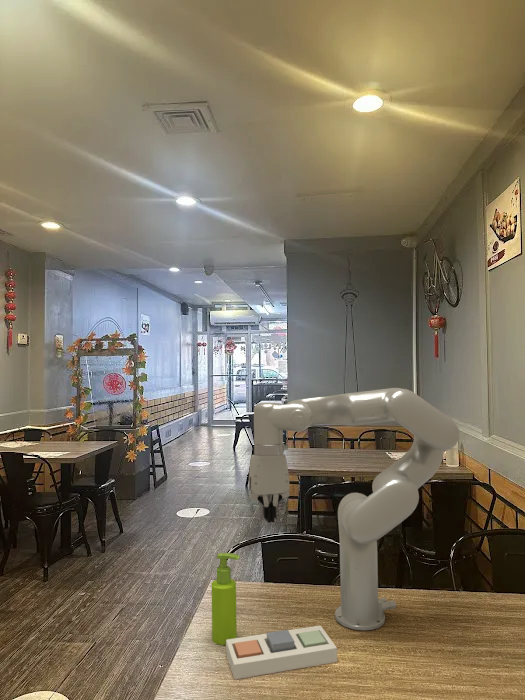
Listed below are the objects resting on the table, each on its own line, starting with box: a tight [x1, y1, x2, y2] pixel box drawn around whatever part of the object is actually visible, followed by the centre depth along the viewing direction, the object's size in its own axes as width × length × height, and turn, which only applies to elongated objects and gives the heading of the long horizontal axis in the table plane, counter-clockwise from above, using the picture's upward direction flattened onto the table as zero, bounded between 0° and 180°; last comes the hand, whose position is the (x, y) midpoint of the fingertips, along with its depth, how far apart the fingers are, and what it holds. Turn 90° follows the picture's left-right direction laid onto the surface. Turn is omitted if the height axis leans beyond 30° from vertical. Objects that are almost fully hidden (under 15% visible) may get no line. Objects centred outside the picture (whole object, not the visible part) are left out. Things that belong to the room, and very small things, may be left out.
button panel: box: [225, 625, 338, 680], centre depth 111 cm, size 23×10×3 cm, turn 104°
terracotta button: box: [234, 640, 262, 659], centre depth 109 cm, size 5×5×2 cm
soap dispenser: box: [211, 552, 241, 646], centre depth 120 cm, size 6×7×20 cm
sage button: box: [298, 630, 326, 648], centre depth 113 cm, size 5×5×2 cm
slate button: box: [266, 629, 294, 653], centre depth 111 cm, size 5×5×2 cm
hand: (269, 520), depth 129 cm, fingers closed
